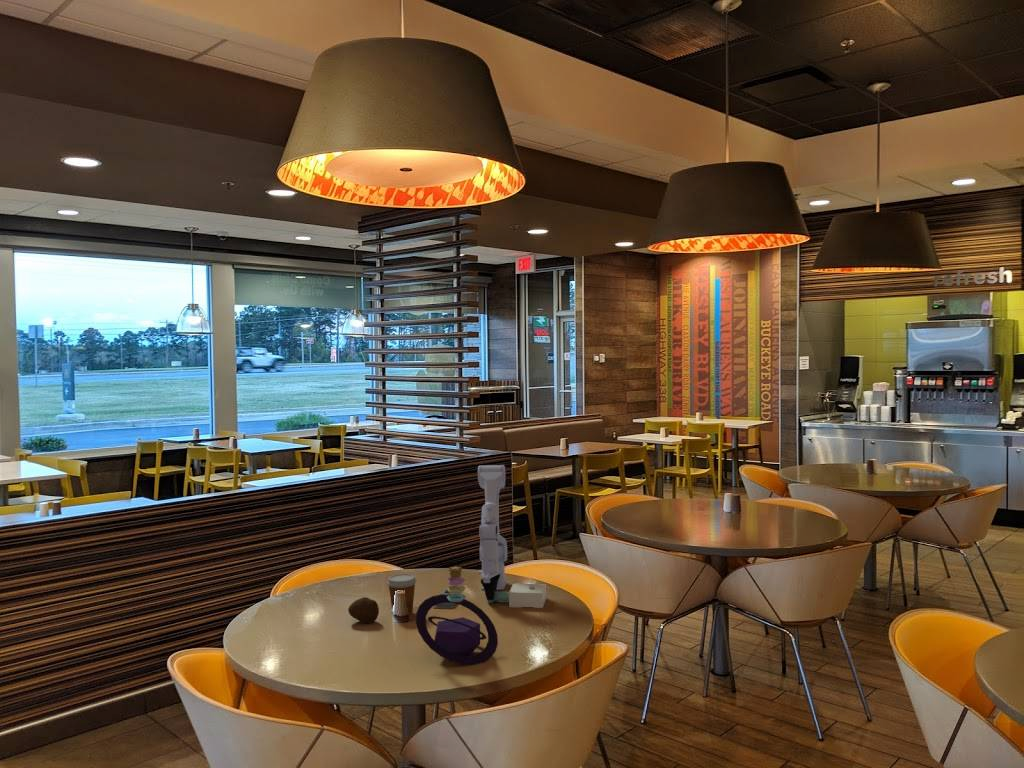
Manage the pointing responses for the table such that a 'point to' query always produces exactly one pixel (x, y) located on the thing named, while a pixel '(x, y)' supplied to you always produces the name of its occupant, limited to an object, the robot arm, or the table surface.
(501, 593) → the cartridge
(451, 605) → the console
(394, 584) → the disposable coffee cup
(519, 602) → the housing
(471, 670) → the table surface
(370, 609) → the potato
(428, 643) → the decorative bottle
